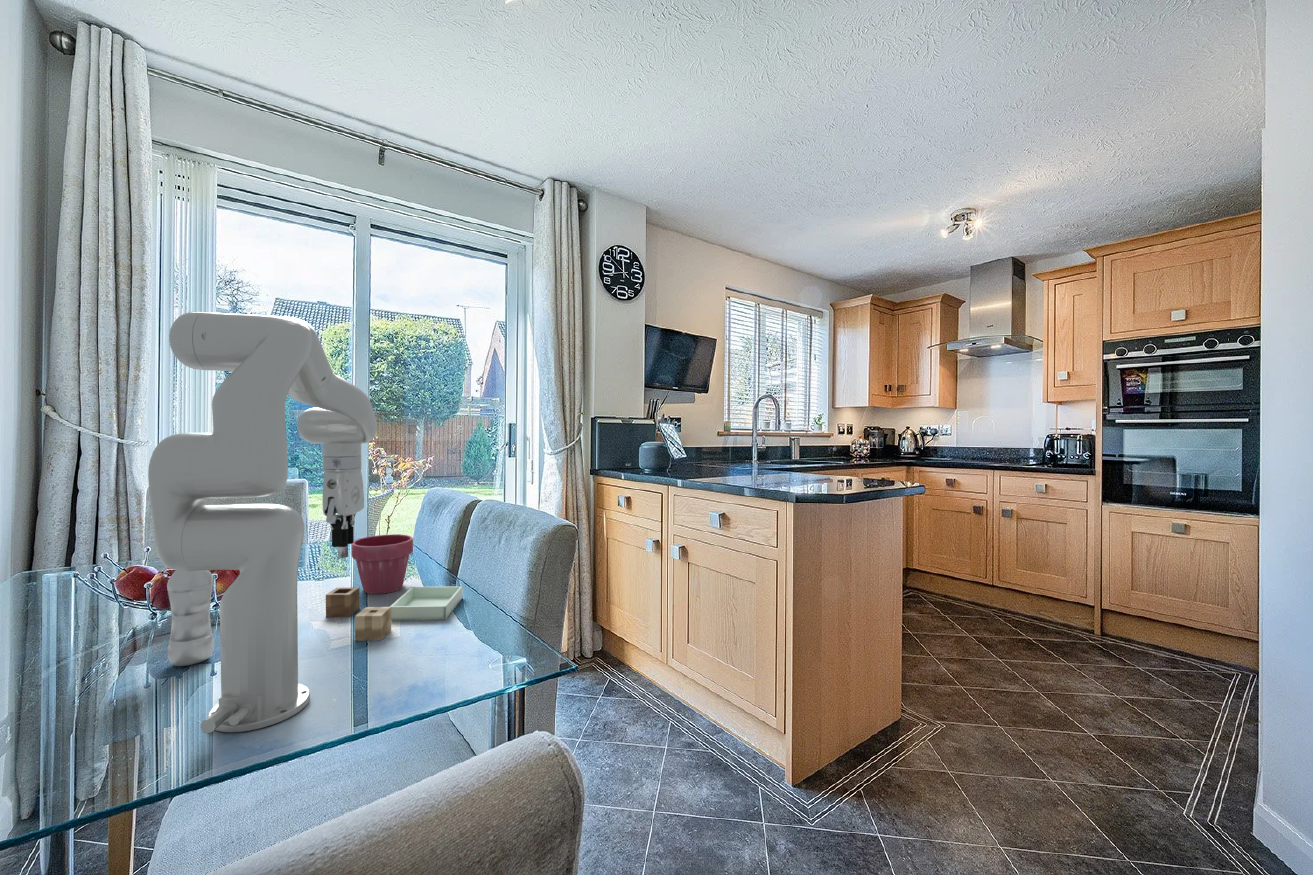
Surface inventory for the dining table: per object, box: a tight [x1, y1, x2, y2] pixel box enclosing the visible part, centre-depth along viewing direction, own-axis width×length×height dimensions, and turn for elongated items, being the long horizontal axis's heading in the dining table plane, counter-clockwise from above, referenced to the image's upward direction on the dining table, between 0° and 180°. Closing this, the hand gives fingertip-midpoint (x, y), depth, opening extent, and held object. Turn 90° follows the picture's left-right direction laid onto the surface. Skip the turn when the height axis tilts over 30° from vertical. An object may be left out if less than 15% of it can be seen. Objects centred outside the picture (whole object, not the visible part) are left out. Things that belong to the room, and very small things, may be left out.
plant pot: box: [351, 533, 414, 595], centre depth 141 cm, size 14×14×13 cm
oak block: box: [354, 606, 392, 642], centre depth 112 cm, size 5×5×5 cm
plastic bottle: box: [166, 570, 215, 667], centre depth 98 cm, size 6×7×20 cm
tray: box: [389, 585, 464, 621], centre depth 127 cm, size 14×12×3 cm
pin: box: [337, 521, 349, 559], centre depth 123 cm, size 2×2×8 cm
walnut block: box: [325, 587, 361, 618], centre depth 124 cm, size 5×5×5 cm
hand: (343, 544), depth 123 cm, fingers closed on pin, 2 cm apart
